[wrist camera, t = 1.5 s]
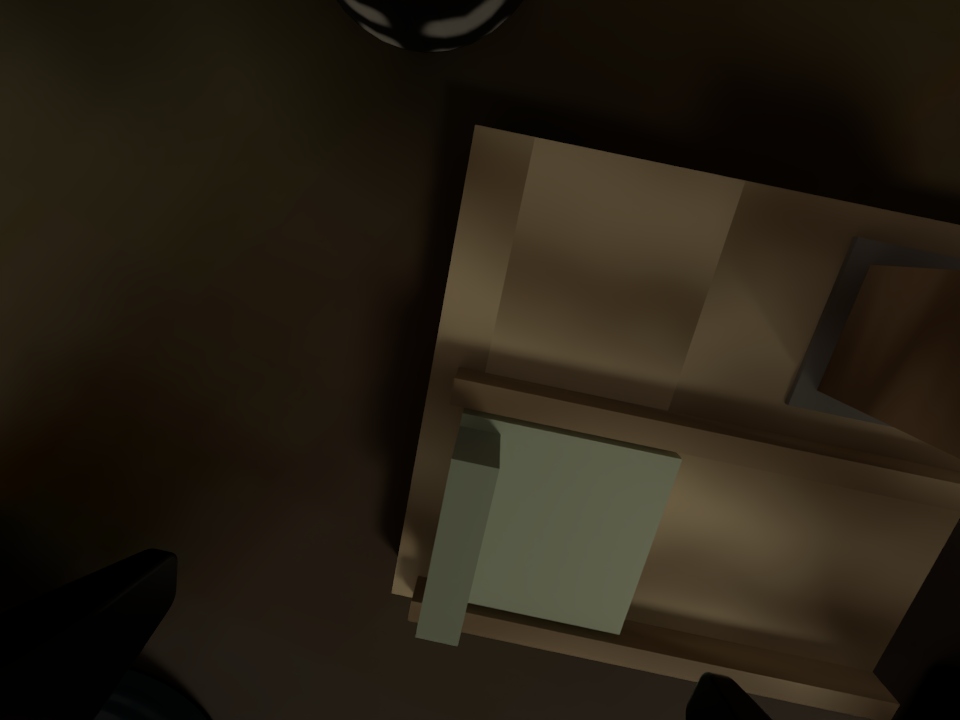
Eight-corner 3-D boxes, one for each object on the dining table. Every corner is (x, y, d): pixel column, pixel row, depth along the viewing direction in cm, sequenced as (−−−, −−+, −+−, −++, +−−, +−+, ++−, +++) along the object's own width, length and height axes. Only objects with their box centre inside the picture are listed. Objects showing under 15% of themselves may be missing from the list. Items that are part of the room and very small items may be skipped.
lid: (613, 614, 19) (636, 695, 15) (429, 575, 19) (413, 648, 16) (672, 446, 17) (714, 498, 13) (464, 403, 17) (454, 444, 13)
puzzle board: (828, 651, 21) (887, 726, 18) (401, 561, 21) (382, 619, 18) (1037, 254, 16) (1170, 257, 13) (478, 138, 16) (471, 112, 13)
